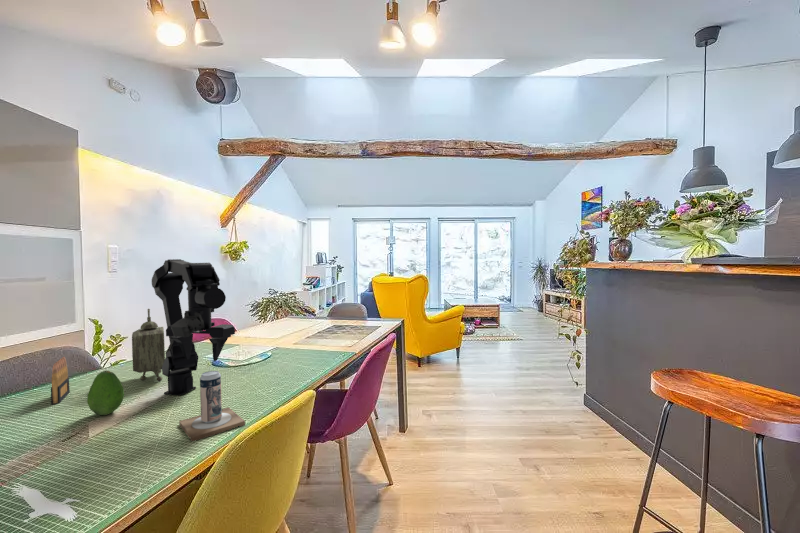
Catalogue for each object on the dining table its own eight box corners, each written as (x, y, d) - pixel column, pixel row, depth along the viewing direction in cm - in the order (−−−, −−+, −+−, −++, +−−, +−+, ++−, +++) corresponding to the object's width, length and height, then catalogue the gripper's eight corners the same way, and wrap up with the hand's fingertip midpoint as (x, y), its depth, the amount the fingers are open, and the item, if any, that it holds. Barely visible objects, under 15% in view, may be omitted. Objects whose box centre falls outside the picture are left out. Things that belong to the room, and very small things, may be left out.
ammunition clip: (59, 403, 109) (57, 363, 109) (51, 404, 108) (49, 364, 108) (69, 392, 118) (68, 355, 118) (62, 393, 117) (60, 356, 117)
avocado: (100, 421, 96) (98, 376, 96) (81, 417, 99) (79, 373, 98) (131, 409, 103) (130, 367, 103) (113, 406, 106) (111, 365, 106)
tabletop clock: (165, 381, 127) (163, 309, 126) (133, 387, 122) (130, 312, 121) (164, 371, 139) (162, 305, 138) (134, 376, 134) (132, 307, 133)
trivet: (179, 424, 93) (179, 420, 93) (228, 410, 102) (228, 406, 102) (192, 441, 85) (192, 436, 85) (245, 424, 93) (244, 420, 93)
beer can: (212, 425, 90) (211, 376, 90) (196, 423, 91) (195, 375, 91) (226, 416, 95) (225, 370, 95) (210, 415, 96) (209, 369, 96)
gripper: (148, 309, 100) (150, 366, 100) (207, 310, 96) (209, 370, 96) (180, 304, 111) (182, 356, 111) (235, 305, 107) (236, 358, 107)
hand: (201, 360), depth 106 cm, fingers open, 9 cm apart
